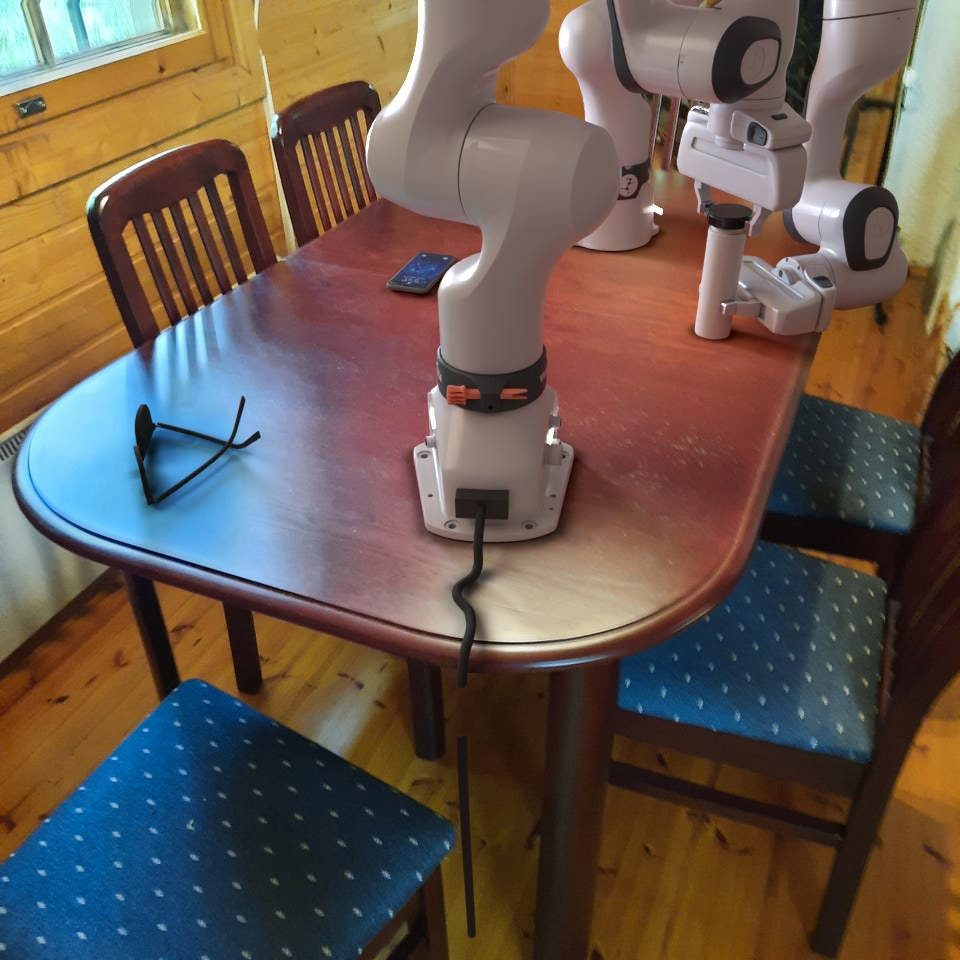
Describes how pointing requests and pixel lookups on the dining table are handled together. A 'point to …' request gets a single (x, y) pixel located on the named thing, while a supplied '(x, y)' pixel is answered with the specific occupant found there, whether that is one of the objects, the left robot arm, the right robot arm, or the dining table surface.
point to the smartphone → (421, 272)
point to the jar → (719, 281)
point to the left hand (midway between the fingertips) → (727, 224)
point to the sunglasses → (147, 427)
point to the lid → (729, 216)
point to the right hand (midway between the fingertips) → (711, 299)
